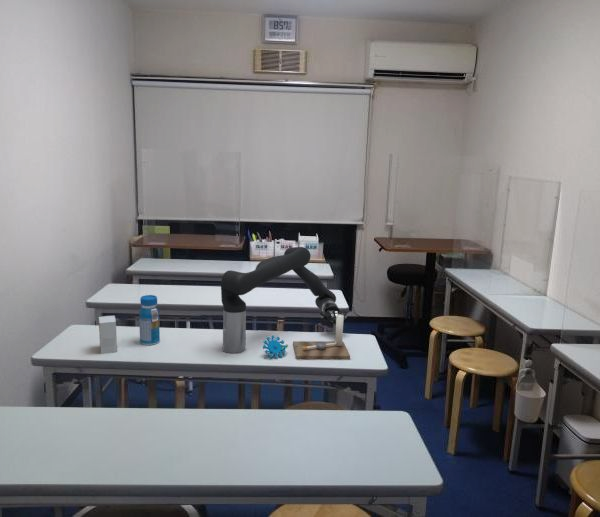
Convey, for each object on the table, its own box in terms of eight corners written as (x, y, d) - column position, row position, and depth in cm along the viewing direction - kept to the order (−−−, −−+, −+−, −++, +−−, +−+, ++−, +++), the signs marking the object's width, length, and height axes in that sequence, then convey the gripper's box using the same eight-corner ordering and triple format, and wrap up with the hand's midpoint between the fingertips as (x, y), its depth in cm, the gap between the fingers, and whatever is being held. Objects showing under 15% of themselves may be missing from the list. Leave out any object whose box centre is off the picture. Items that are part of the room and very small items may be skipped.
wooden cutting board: (296, 359, 205) (296, 355, 205) (292, 344, 220) (293, 341, 220) (350, 359, 207) (350, 355, 207) (343, 344, 223) (343, 341, 222)
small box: (99, 346, 210) (98, 316, 208) (116, 344, 213) (114, 315, 210) (100, 353, 203) (99, 322, 201) (117, 352, 206) (116, 321, 203)
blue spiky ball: (265, 357, 202) (262, 334, 207) (260, 363, 206) (257, 340, 211) (291, 357, 207) (287, 334, 212) (285, 363, 211) (281, 341, 216)
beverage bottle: (138, 346, 212) (137, 300, 208) (140, 339, 220) (138, 294, 216) (159, 345, 214) (158, 299, 210) (160, 338, 222) (159, 293, 218)
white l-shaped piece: (305, 352, 208) (306, 321, 205) (300, 348, 212) (301, 318, 209) (344, 346, 216) (345, 316, 213) (338, 342, 220) (340, 313, 217)
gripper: (317, 302, 239) (322, 314, 223) (344, 302, 241) (351, 314, 224) (316, 317, 241) (321, 330, 224) (343, 317, 242) (350, 330, 225)
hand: (336, 322), depth 224 cm, fingers closed
